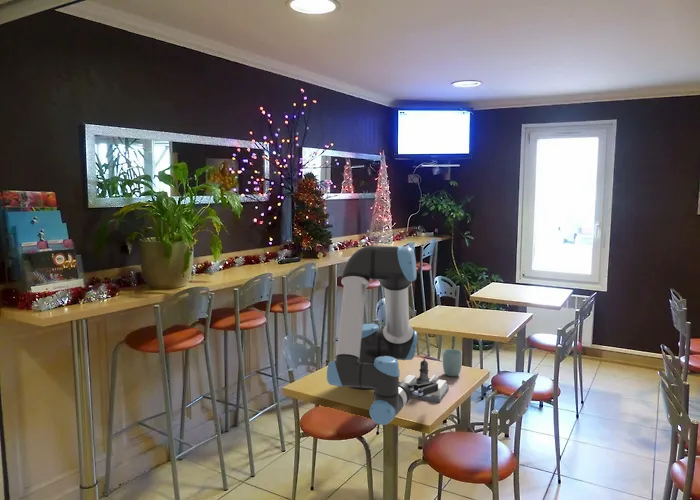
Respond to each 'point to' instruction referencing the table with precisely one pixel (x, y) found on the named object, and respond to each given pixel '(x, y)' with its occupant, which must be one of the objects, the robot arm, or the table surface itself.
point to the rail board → (433, 396)
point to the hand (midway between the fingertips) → (416, 375)
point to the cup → (452, 362)
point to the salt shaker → (423, 373)
